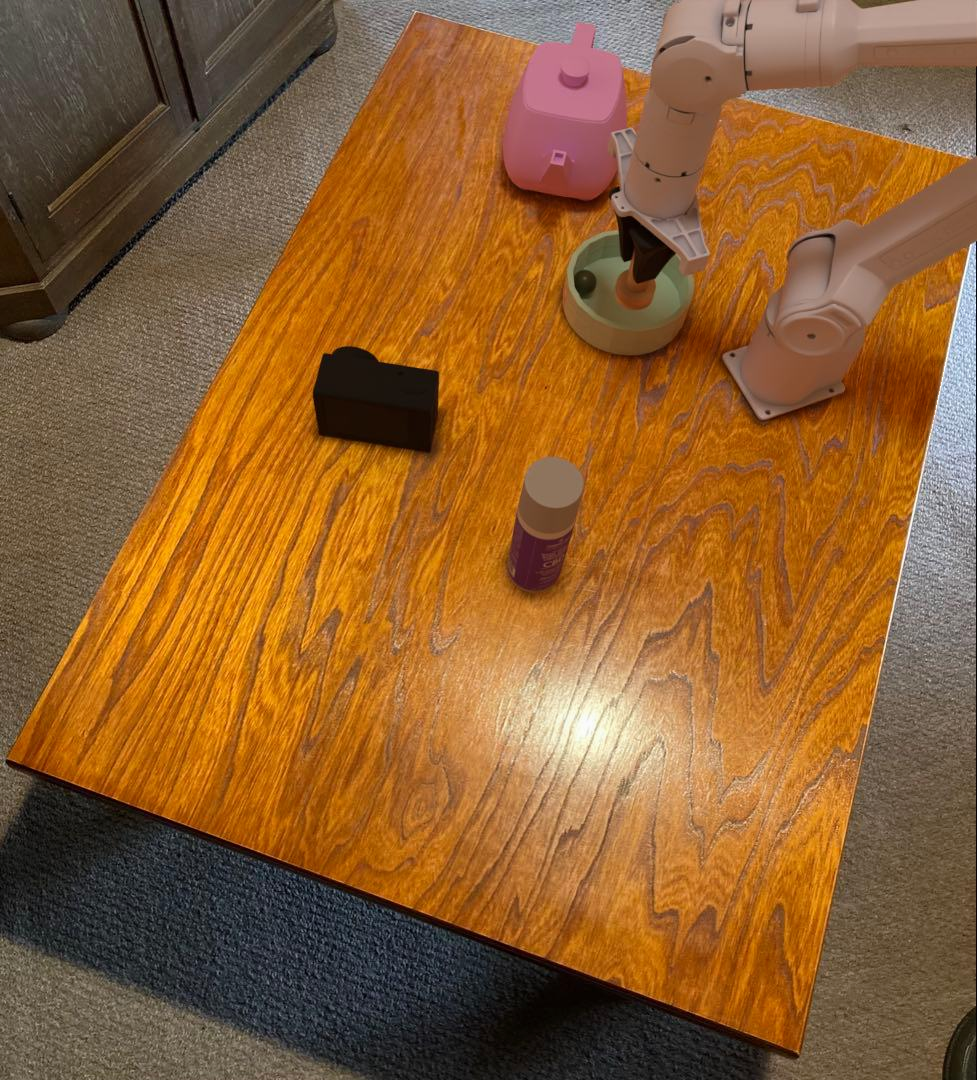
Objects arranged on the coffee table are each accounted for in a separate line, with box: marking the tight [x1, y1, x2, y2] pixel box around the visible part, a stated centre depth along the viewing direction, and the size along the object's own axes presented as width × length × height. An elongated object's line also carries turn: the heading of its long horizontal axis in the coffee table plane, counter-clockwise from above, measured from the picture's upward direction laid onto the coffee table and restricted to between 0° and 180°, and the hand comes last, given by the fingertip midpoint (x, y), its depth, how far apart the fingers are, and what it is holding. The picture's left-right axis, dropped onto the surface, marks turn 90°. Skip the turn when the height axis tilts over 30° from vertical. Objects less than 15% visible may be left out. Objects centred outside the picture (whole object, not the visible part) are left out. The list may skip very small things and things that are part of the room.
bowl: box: [562, 229, 696, 356], centre depth 105 cm, size 12×12×4 cm
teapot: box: [502, 21, 628, 202], centre depth 108 cm, size 20×12×13 cm, turn 169°
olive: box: [574, 270, 597, 295], centre depth 105 cm, size 2×2×2 cm
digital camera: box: [312, 345, 440, 453], centre depth 96 cm, size 10×5×7 cm, turn 81°
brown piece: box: [614, 224, 656, 310], centre depth 95 cm, size 4×4×9 cm
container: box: [506, 456, 585, 594], centre depth 87 cm, size 5×5×15 cm
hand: (638, 267), depth 95 cm, fingers closed on brown piece, 2 cm apart
